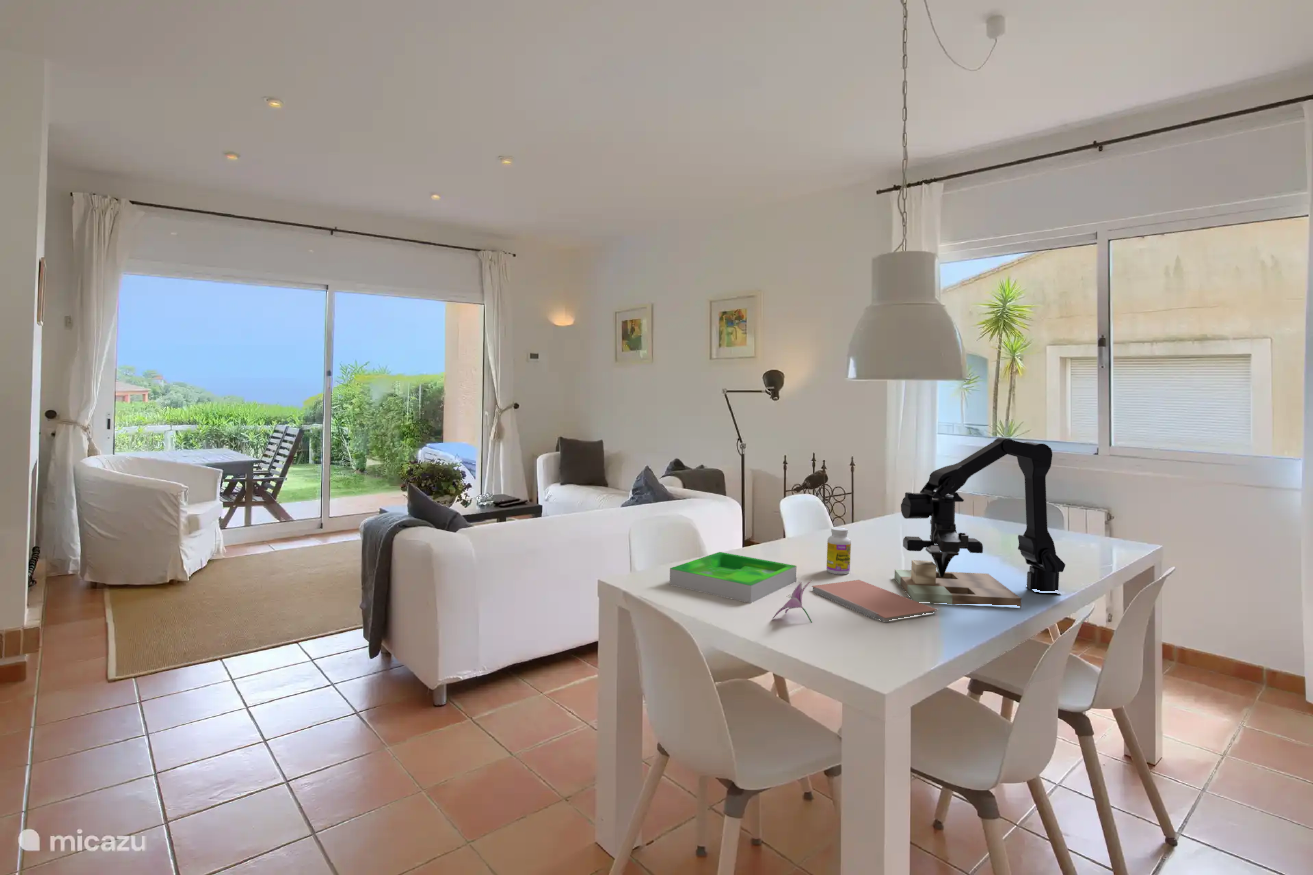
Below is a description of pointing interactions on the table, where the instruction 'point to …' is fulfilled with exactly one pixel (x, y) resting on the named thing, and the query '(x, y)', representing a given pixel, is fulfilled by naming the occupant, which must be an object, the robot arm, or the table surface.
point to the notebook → (871, 600)
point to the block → (923, 572)
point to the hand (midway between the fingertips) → (941, 576)
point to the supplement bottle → (838, 551)
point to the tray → (733, 576)
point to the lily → (795, 600)
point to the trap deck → (958, 589)
